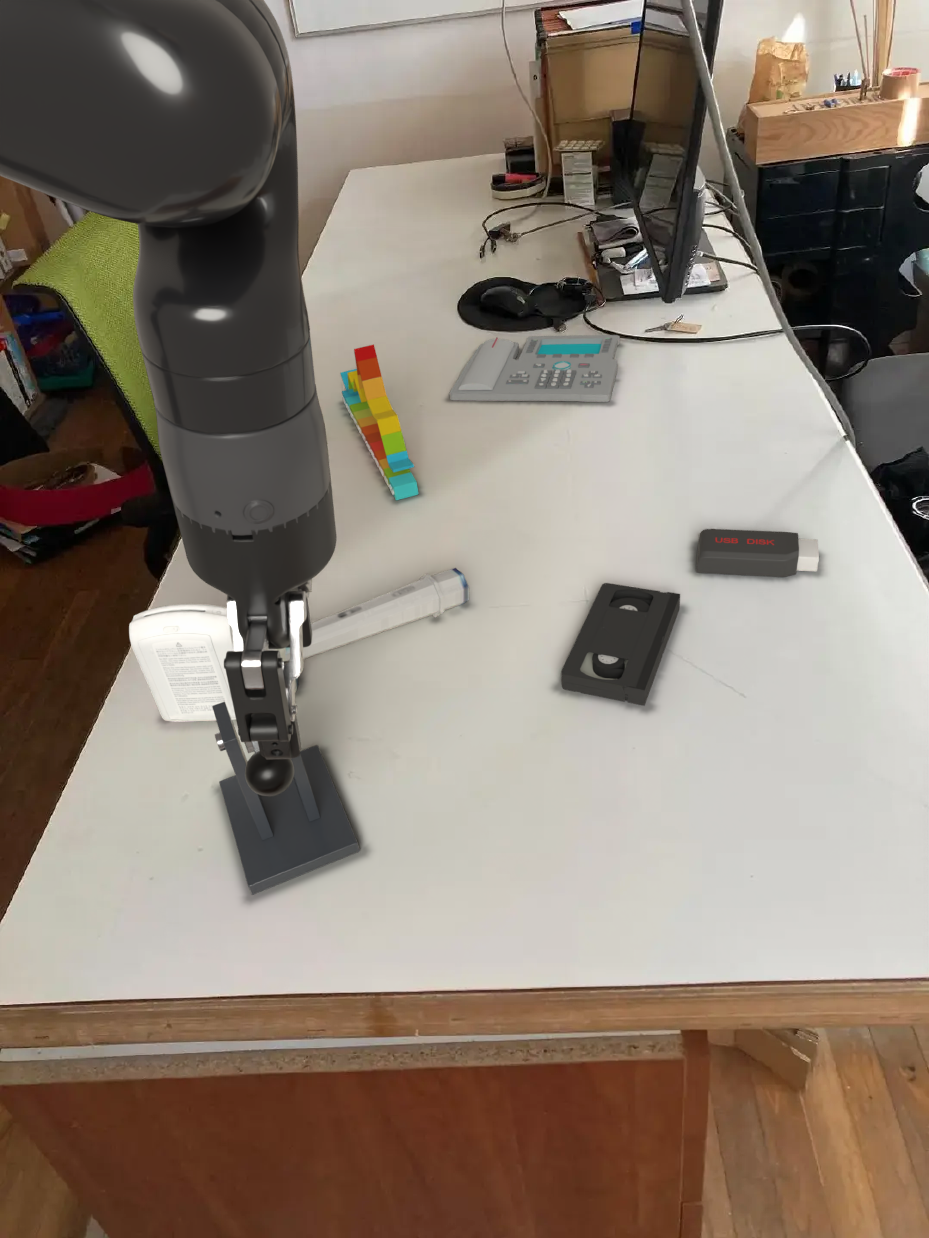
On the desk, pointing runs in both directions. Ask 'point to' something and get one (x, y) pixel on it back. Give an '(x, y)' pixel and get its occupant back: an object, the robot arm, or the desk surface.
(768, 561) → the usb drive
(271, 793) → the lever with ball knob
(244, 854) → the dark grey pivot stand
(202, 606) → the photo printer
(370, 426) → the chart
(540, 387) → the office telephone
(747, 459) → the desk surface
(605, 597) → the vhs tape
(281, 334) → the robot arm
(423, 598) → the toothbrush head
